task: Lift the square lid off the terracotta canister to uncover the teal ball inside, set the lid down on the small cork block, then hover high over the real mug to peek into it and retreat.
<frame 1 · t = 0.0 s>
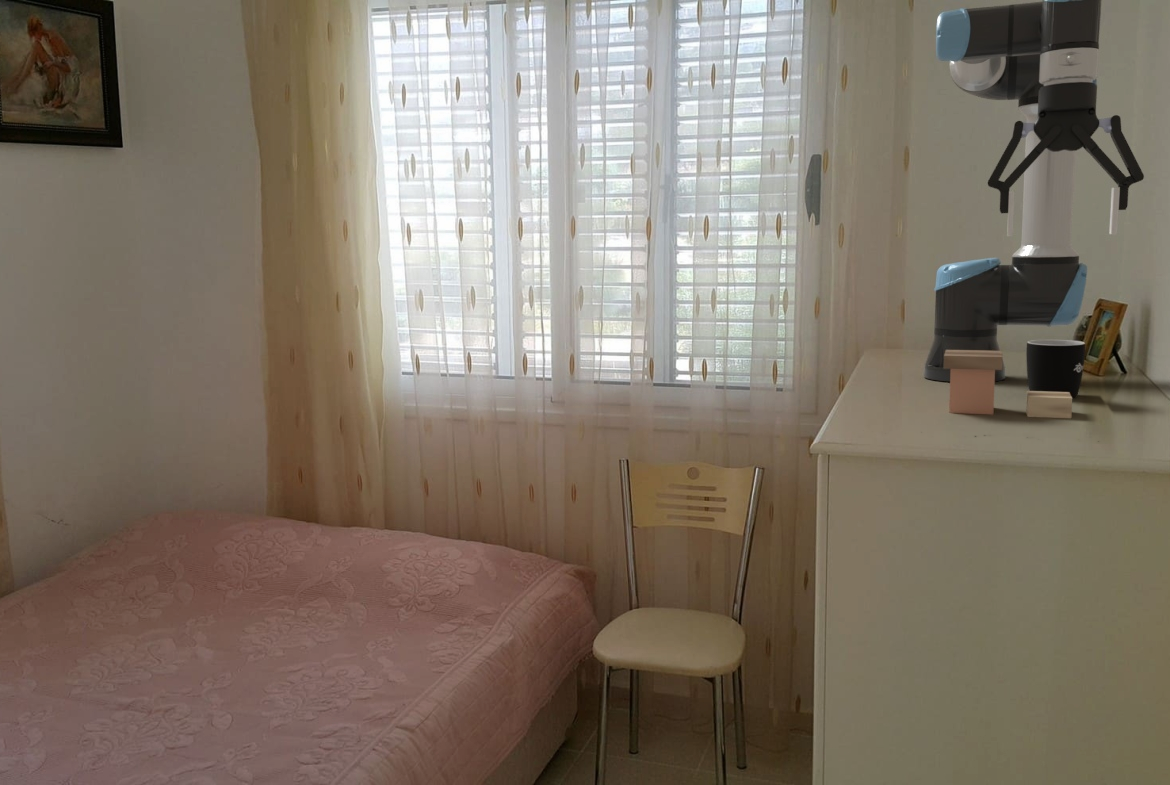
hand: (1060, 235, 147), 28 cm above the table, fingers open, 13 cm apart
lid: (972, 365, 159), point 8 cm above the table, touching canister
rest: (1047, 420, 155), on the table
mug: (1054, 401, 173), on the table
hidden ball: (971, 409, 160), point 1 cm above the table, touching canister
canister: (971, 416, 160), on the table
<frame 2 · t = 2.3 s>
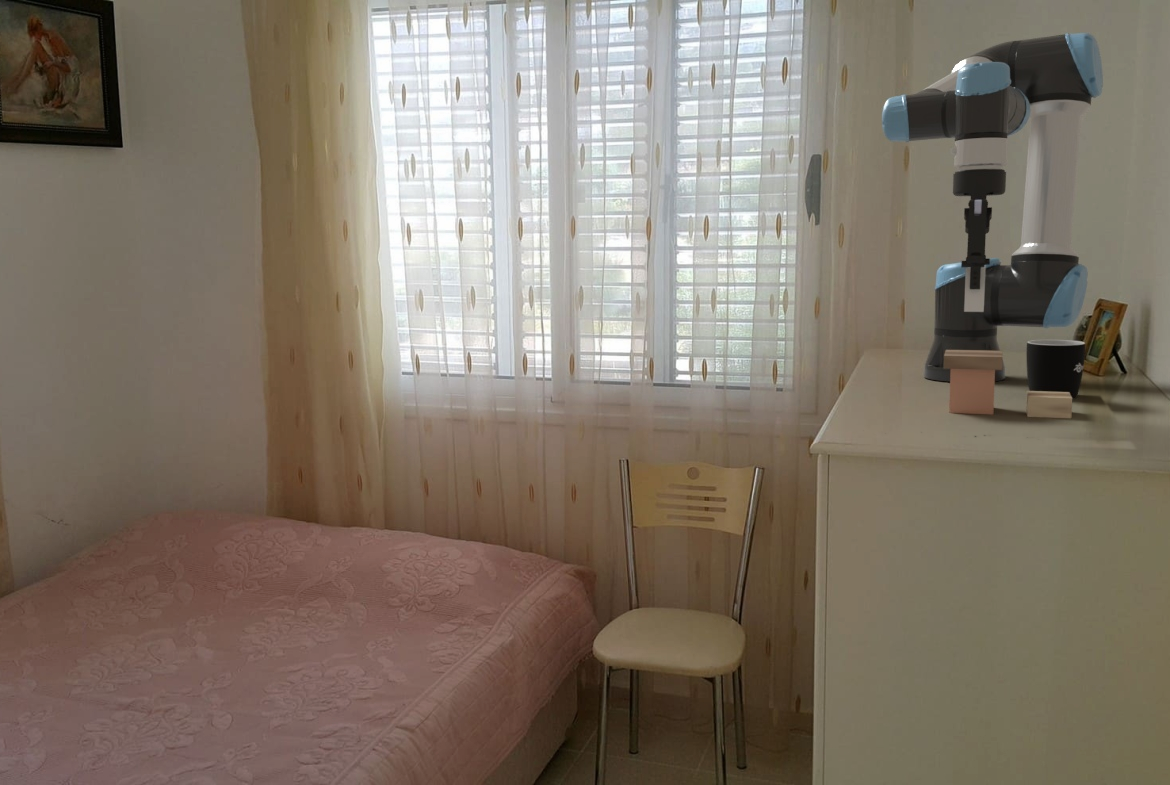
hand: (974, 309, 158), 17 cm above the table, fingers open, 13 cm apart
nothing on the table moved.
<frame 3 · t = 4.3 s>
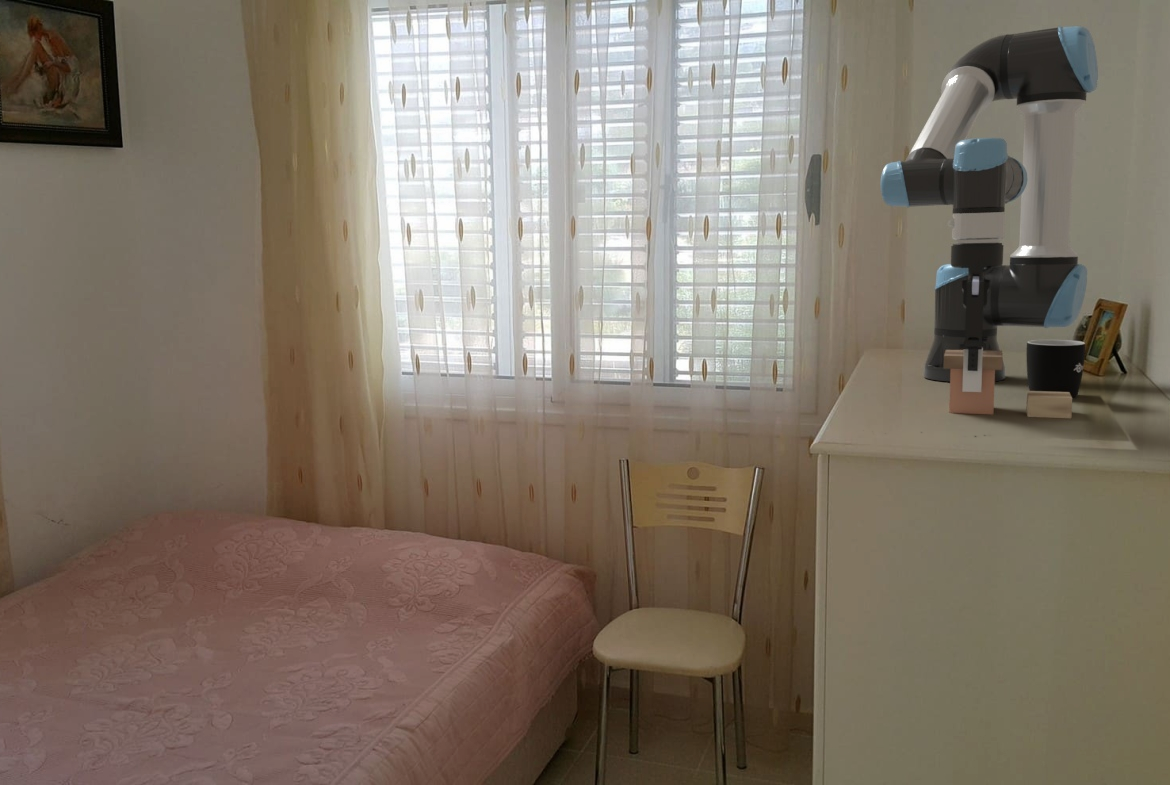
hand: (972, 387, 160), 5 cm above the table, fingers closed on lid, 8 cm apart
lid: (972, 365, 159), point 8 cm above the table, touching canister, gripper
everything else where it was.
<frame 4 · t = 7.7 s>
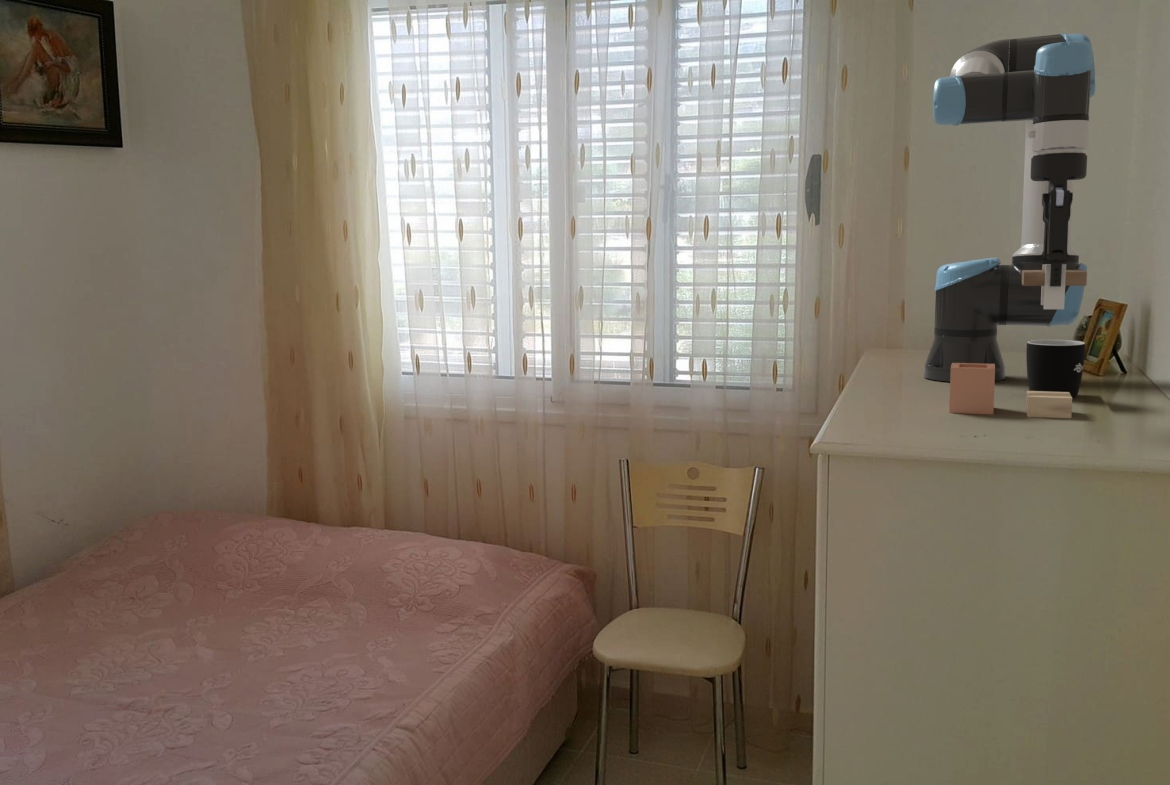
hand: (1052, 306, 153), 17 cm above the table, fingers closed on lid, 8 cm apart
lid: (1052, 284, 152), point 21 cm above the table, touching gripper
everything else where it was.
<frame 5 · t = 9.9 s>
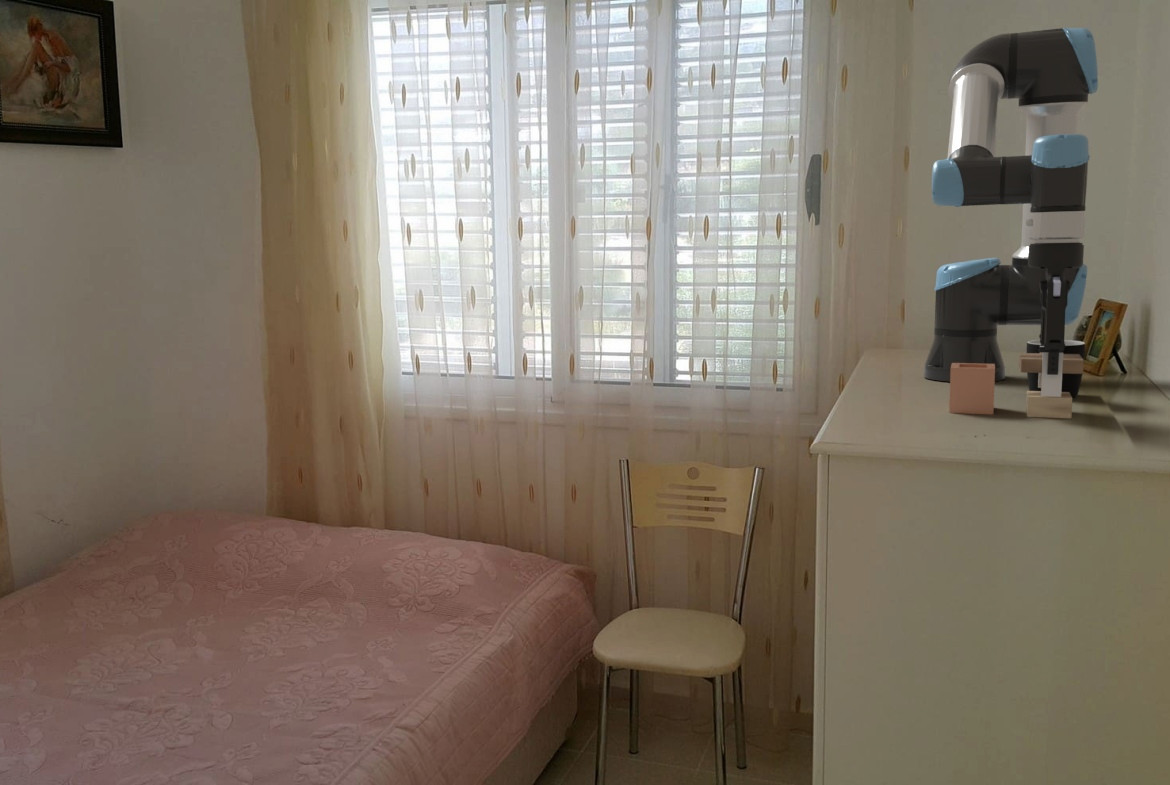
hand: (1049, 391, 155), 4 cm above the table, fingers closed on lid, 8 cm apart
lid: (1050, 369, 154), point 8 cm above the table, touching gripper
everything else where it was.
when the fingers open (2 cm above the table, at t = 11.4 s): lid drops 1 cm, resting on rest.
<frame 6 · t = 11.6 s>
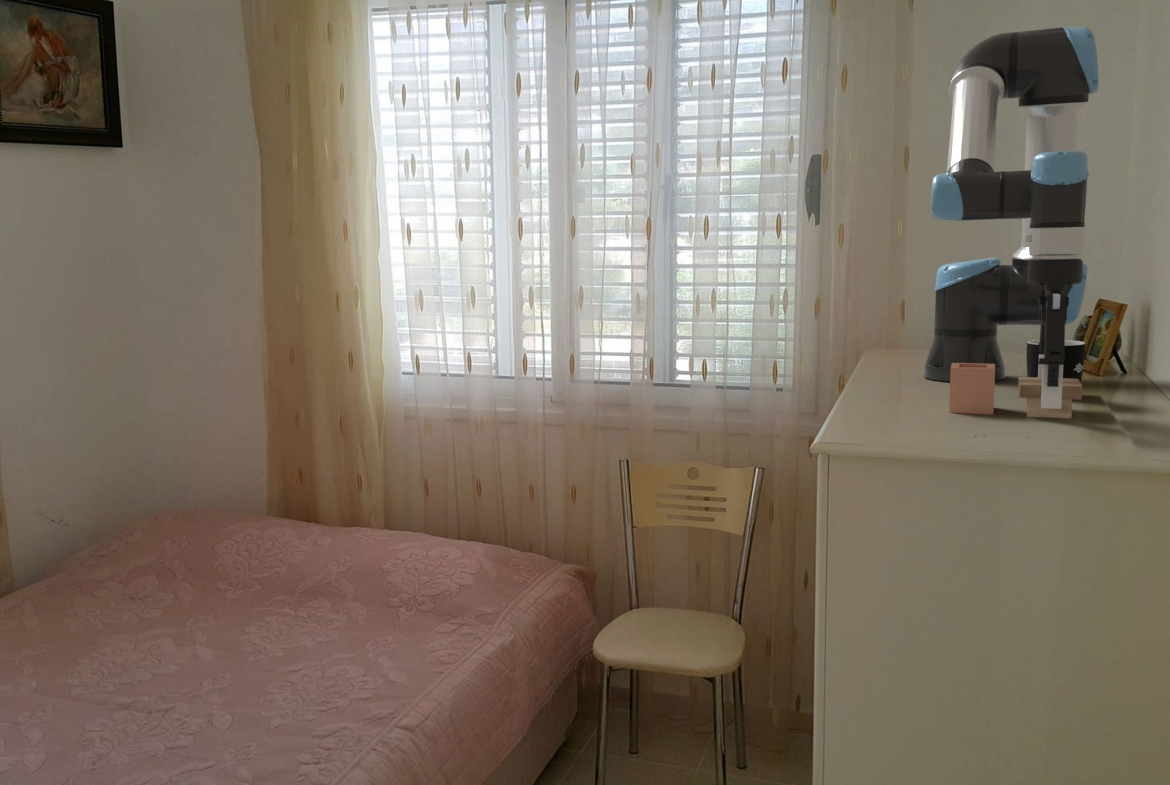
hand: (1048, 401, 155), 3 cm above the table, fingers open, 11 cm apart
lid: (1048, 394, 155), point 4 cm above the table, touching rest
everything else where it was.
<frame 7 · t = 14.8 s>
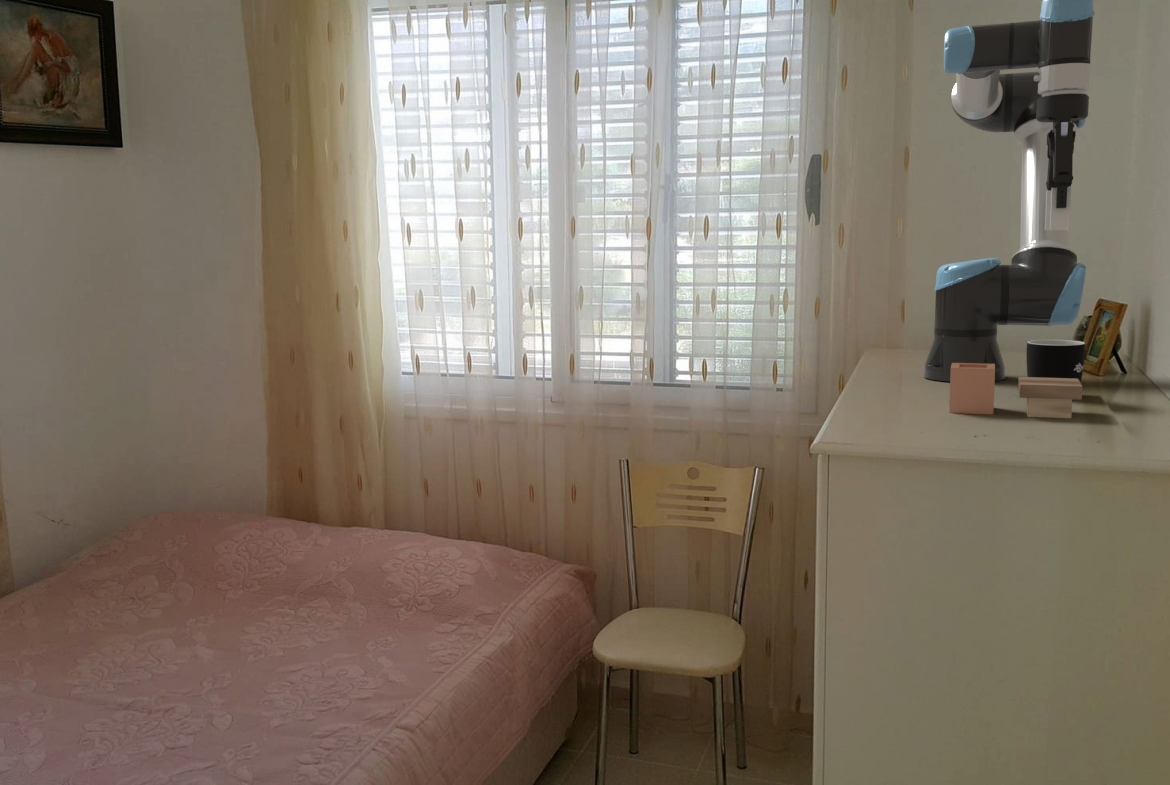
hand: (1056, 230, 165), 29 cm above the table, fingers open, 13 cm apart
nothing on the table moved.
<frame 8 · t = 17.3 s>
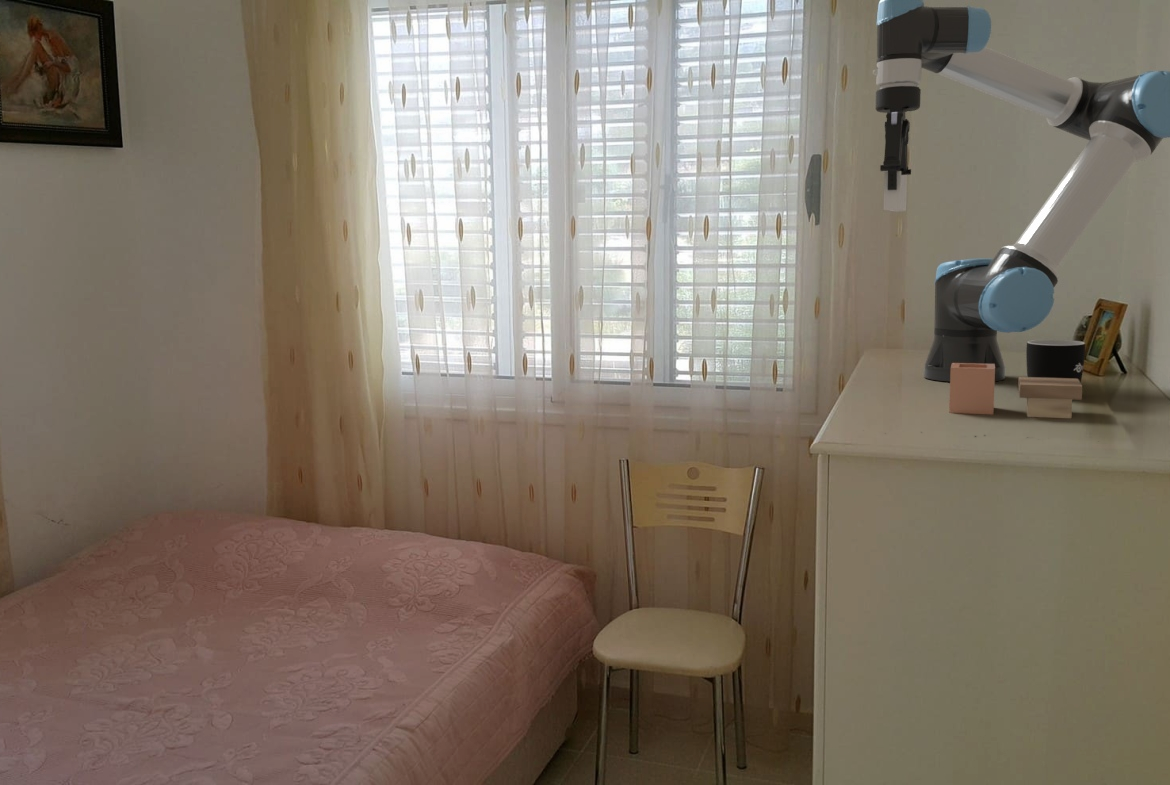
hand: (895, 210, 181), 33 cm above the table, fingers open, 13 cm apart
nothing on the table moved.
at the end: lid 0.0 cm off-centre on the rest, point 4.0 cm above the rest's base; lid moved 11.7 cm from its start; the gripper is holding nothing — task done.
